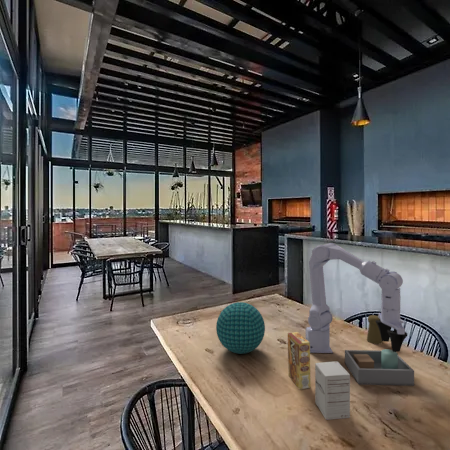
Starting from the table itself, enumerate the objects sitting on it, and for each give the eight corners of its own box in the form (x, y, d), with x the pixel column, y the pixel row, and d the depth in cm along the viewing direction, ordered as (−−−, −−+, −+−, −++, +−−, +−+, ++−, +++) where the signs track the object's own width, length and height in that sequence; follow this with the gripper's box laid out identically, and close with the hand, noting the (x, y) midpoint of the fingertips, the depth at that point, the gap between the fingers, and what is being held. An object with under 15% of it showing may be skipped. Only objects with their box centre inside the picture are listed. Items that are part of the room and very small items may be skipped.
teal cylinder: (400, 376, 100) (400, 356, 99) (383, 375, 101) (383, 355, 100) (394, 368, 105) (394, 349, 104) (379, 367, 106) (379, 348, 105)
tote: (358, 384, 97) (358, 369, 97) (344, 362, 110) (344, 350, 110) (414, 385, 96) (414, 370, 95) (393, 363, 109) (393, 350, 109)
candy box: (311, 388, 95) (311, 342, 95) (299, 390, 94) (298, 343, 94) (298, 373, 104) (298, 331, 103) (287, 375, 103) (287, 332, 102)
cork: (384, 344, 125) (384, 319, 124) (368, 343, 126) (369, 318, 125) (379, 338, 131) (379, 314, 130) (365, 337, 132) (365, 313, 131)
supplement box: (314, 403, 88) (314, 362, 87) (338, 401, 89) (338, 360, 88) (325, 420, 81) (324, 376, 80) (350, 418, 81) (350, 374, 81)
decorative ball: (206, 352, 121) (205, 304, 120) (238, 336, 136) (237, 293, 135) (244, 369, 108) (243, 315, 107) (274, 349, 122) (274, 302, 121)
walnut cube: (374, 375, 101) (374, 361, 100) (359, 375, 101) (359, 361, 101) (367, 367, 106) (367, 354, 105) (353, 367, 106) (353, 354, 106)
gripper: (414, 315, 94) (414, 356, 95) (392, 301, 108) (392, 337, 109) (391, 315, 95) (391, 356, 95) (372, 301, 109) (372, 336, 110)
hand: (390, 346), depth 102 cm, fingers open, 7 cm apart
